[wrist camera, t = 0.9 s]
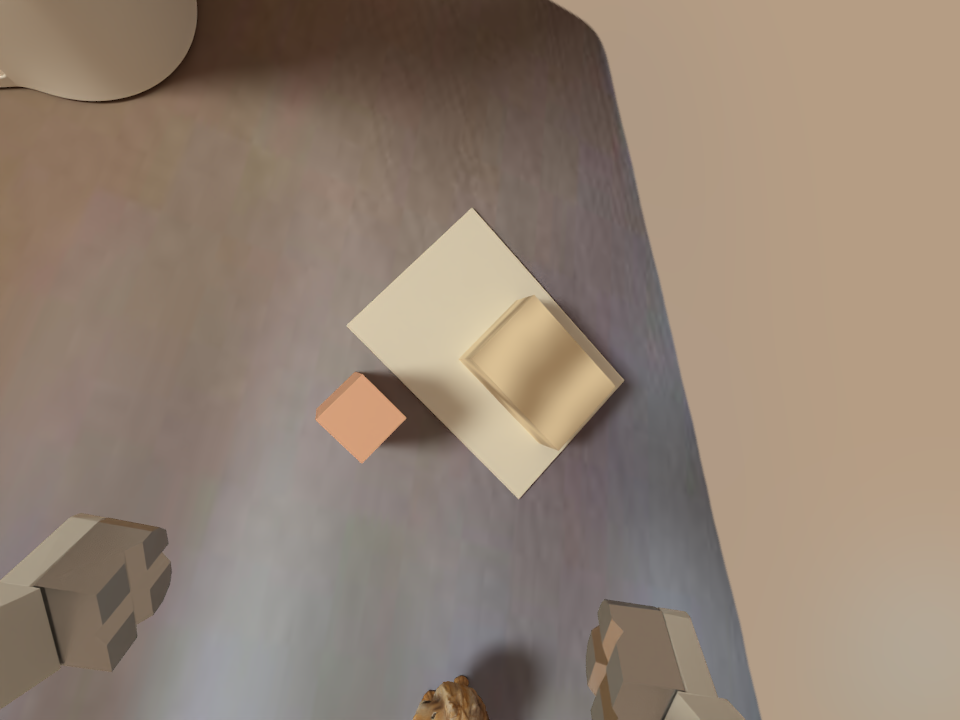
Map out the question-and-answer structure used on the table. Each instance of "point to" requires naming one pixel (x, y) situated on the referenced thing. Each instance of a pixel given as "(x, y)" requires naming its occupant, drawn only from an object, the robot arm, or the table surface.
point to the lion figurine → (452, 703)
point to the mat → (464, 342)
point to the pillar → (359, 416)
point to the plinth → (538, 372)
